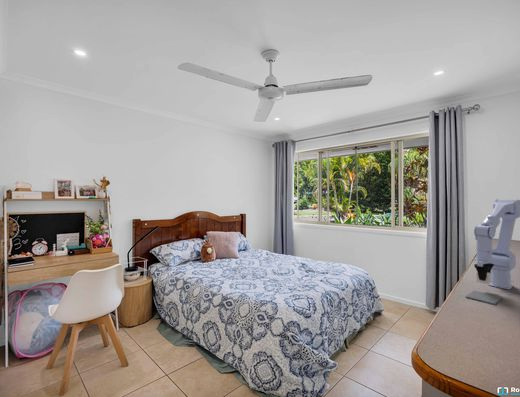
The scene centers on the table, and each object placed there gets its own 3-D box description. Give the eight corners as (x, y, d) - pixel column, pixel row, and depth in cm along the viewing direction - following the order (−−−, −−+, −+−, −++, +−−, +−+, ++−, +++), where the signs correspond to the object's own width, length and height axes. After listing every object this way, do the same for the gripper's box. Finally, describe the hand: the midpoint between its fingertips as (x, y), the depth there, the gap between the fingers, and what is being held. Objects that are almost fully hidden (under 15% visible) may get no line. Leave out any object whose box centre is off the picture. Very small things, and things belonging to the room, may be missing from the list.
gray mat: (474, 291, 127) (474, 290, 127) (502, 298, 119) (502, 296, 119) (465, 297, 120) (465, 296, 120) (494, 304, 112) (494, 303, 112)
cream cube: (479, 280, 132) (479, 271, 131) (491, 282, 128) (491, 273, 128) (476, 282, 129) (476, 272, 129) (488, 284, 125) (488, 274, 125)
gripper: (478, 247, 136) (478, 274, 136) (469, 251, 127) (468, 280, 127) (496, 249, 130) (496, 277, 130) (488, 253, 121) (487, 283, 121)
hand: (483, 279), depth 128 cm, fingers closed on cream cube, 4 cm apart
